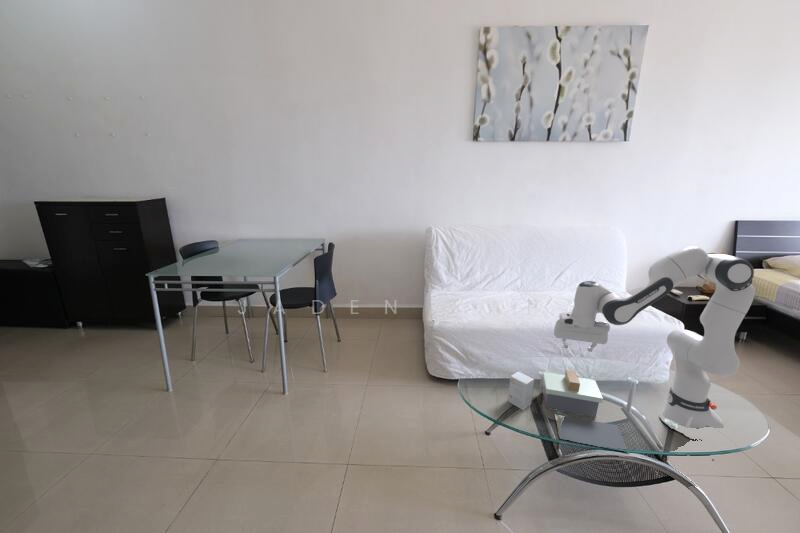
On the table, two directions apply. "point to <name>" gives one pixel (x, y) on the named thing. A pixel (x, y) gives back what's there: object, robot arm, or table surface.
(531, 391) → the small box
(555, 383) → the lid
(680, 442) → the table surface
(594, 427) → the mat
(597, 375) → the table surface
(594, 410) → the storage box
